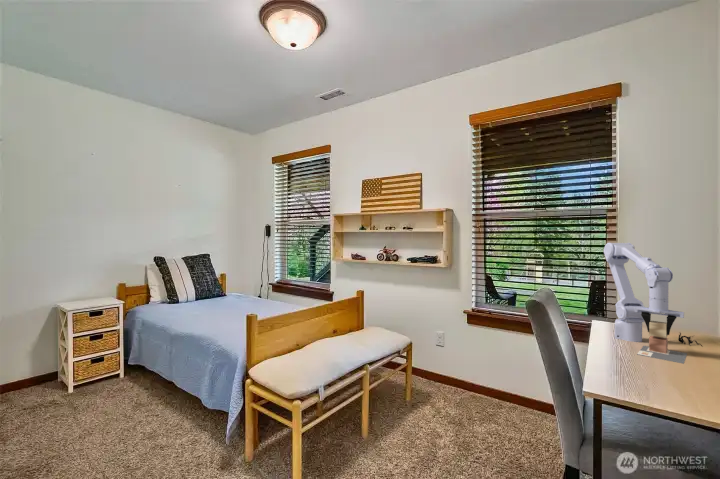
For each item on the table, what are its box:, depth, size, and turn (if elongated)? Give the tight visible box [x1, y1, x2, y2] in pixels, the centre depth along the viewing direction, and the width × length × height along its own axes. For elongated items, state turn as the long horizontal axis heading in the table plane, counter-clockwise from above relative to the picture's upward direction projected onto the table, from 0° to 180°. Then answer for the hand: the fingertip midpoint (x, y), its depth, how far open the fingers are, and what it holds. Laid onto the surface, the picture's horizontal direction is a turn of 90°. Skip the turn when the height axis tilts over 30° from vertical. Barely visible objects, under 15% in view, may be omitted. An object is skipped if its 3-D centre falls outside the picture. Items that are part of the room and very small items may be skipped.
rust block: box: [648, 335, 669, 354], centre depth 135 cm, size 5×5×5 cm
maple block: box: [648, 320, 669, 338], centre depth 135 cm, size 5×5×5 cm
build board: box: [636, 345, 688, 365], centre depth 131 cm, size 13×16×1 cm
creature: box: [677, 332, 704, 348], centre depth 144 cm, size 8×5×8 cm
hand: (658, 333), depth 135 cm, fingers closed on maple block, 5 cm apart
